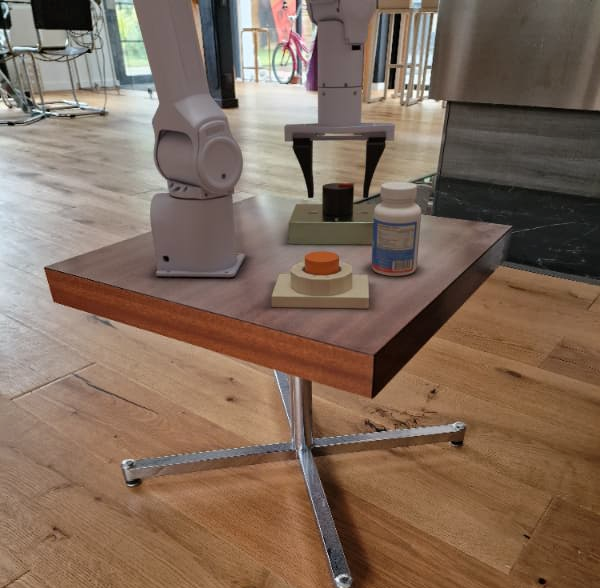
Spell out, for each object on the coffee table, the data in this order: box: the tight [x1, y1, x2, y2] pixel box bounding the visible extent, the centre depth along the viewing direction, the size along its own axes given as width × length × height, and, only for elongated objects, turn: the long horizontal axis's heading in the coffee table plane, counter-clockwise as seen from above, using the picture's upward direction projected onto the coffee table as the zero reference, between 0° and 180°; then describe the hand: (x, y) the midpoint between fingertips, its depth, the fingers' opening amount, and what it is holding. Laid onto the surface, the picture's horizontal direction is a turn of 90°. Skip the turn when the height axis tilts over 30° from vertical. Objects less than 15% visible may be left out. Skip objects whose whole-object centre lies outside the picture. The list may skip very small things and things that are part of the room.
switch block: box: [271, 260, 370, 309], centre depth 61 cm, size 10×7×3 cm
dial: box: [321, 182, 355, 216], centre depth 80 cm, size 4×4×4 cm
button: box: [304, 250, 340, 275], centre depth 60 cm, size 4×4×2 cm
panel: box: [288, 203, 379, 246], centre depth 82 cm, size 13×11×3 cm
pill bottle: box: [371, 181, 422, 277], centre depth 66 cm, size 6×5×10 cm
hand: (338, 196), depth 80 cm, fingers open, 7 cm apart
